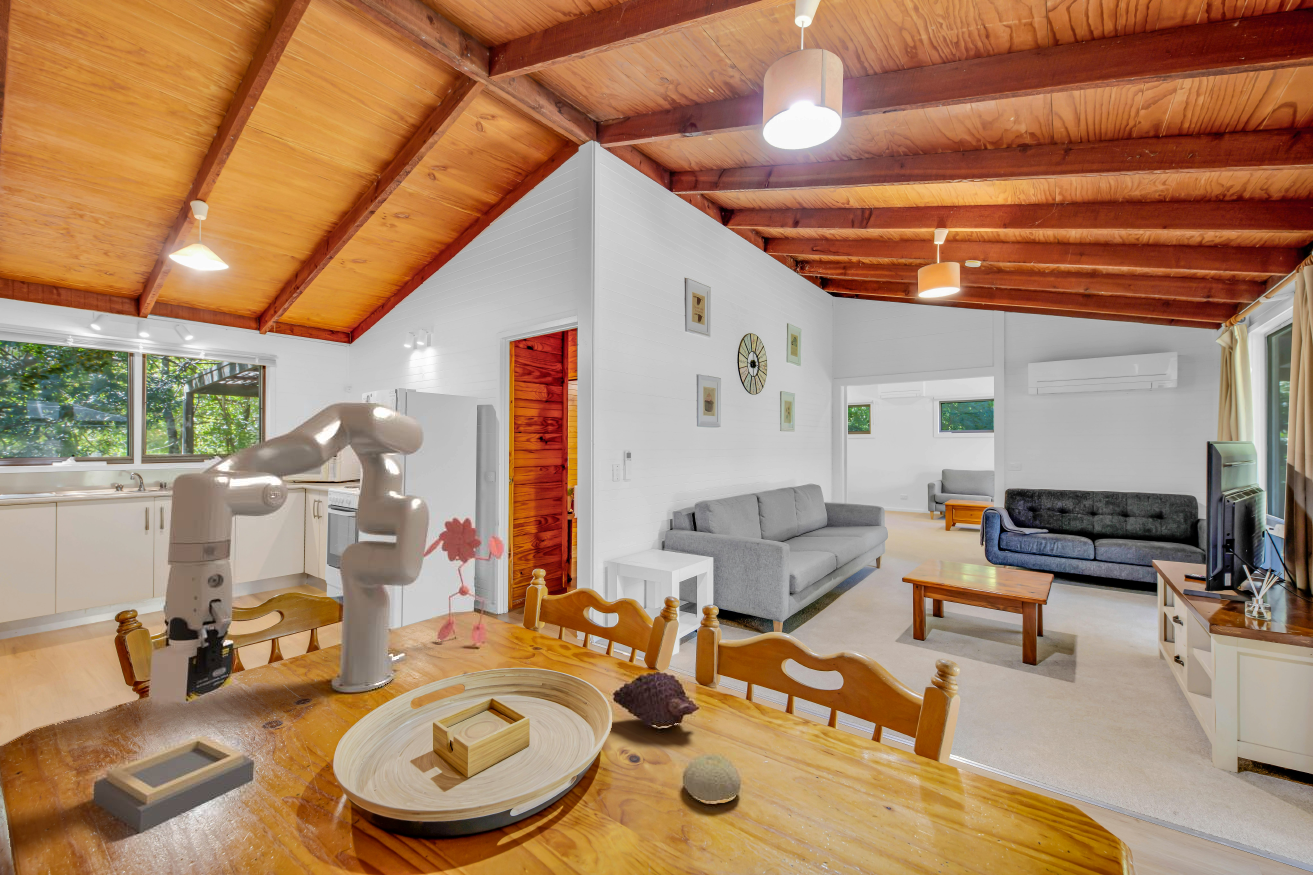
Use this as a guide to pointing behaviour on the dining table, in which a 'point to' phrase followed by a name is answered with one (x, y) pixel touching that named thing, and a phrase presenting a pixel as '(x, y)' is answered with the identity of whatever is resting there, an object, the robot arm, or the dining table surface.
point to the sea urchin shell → (711, 778)
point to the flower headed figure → (462, 545)
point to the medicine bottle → (186, 667)
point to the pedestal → (171, 782)
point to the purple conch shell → (655, 699)
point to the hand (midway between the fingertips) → (192, 665)
